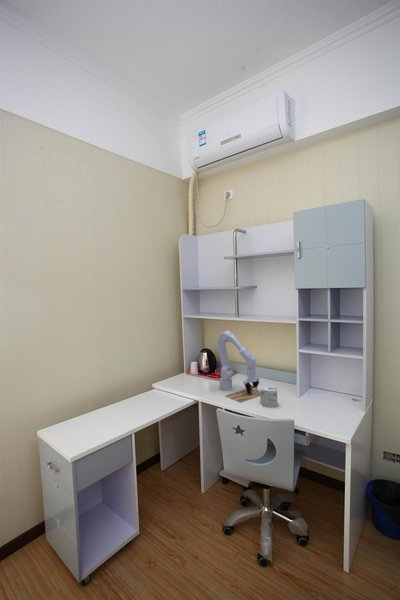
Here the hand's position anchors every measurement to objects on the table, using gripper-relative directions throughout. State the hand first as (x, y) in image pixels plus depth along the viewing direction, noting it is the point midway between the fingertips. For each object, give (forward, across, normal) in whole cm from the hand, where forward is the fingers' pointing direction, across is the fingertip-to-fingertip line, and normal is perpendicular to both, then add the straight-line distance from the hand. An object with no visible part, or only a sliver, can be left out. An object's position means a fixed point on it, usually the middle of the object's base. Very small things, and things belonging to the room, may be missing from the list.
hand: (251, 392), depth 216 cm
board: (+2, -7, 0) cm, 7 cm away
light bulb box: (+2, -5, -20) cm, 21 cm away
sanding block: (0, 0, 0) cm, 0 cm away
